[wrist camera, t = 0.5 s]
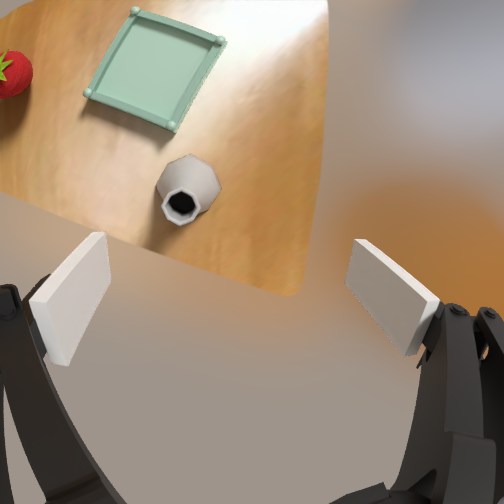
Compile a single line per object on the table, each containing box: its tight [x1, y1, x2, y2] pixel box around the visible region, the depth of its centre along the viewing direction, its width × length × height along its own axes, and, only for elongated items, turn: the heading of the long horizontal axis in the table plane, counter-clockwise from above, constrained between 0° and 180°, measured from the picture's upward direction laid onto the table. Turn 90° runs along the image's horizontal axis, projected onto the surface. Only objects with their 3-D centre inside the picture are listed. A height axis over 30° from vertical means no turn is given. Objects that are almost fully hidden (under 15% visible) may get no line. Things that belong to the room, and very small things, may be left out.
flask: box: [156, 154, 222, 226], centre depth 28 cm, size 7×7×10 cm
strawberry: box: [0, 50, 33, 99], centre depth 18 cm, size 6×8×10 cm
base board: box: [83, 7, 227, 133], centre depth 25 cm, size 12×12×3 cm
